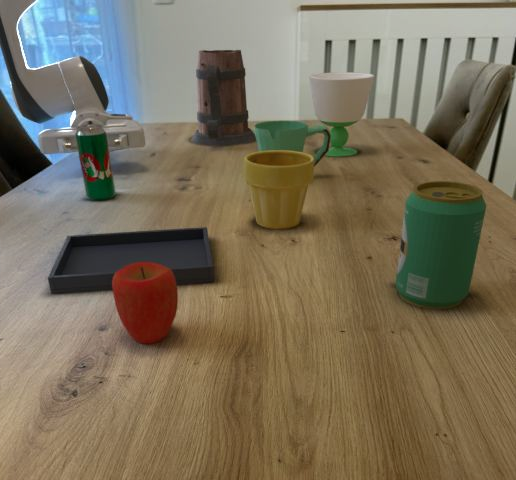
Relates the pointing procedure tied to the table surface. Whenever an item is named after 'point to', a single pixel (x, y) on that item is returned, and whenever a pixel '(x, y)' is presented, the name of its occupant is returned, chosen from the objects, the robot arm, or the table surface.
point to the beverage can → (439, 243)
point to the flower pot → (278, 185)
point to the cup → (340, 104)
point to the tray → (130, 257)
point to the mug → (289, 136)
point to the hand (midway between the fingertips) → (93, 146)
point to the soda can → (95, 162)
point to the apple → (146, 300)
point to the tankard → (221, 99)
